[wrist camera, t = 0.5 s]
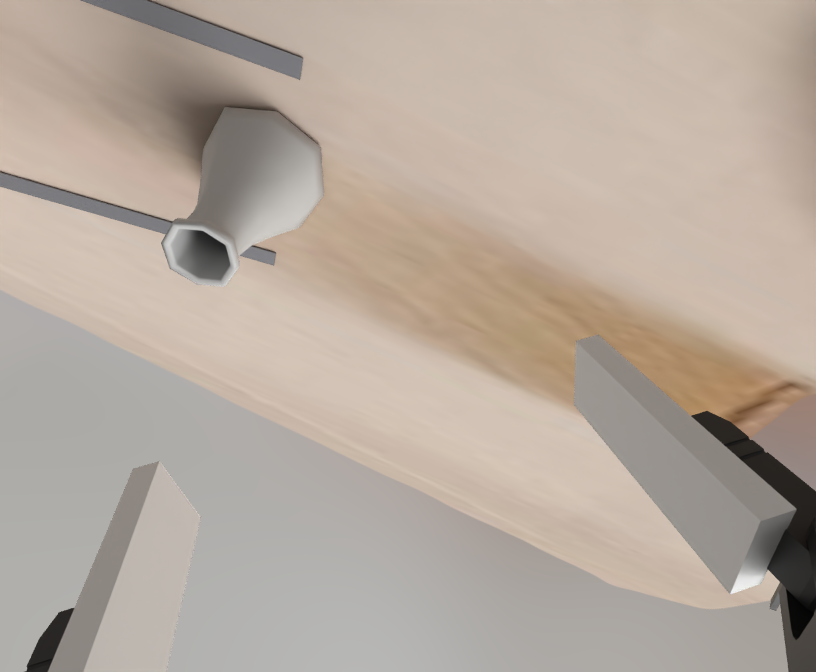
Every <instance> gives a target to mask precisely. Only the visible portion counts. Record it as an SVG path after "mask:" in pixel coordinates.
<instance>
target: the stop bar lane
mask: <svg viewBox="0 0 816 672" xmlns="http://www.w3.org/2000/svg"><path fill="white" fill-rule="evenodd" d="M82 1H84V2H87V3H90V4H93V5H95V6H98V7H101V8H104V9H106V10H109V11H112V12H115V13H117V14H120V15H123V16H126V17H128V18H131V19H134V20H137V21H139V22H142V23H145V24H148V25H150V26H153V27H156V28H159V29H161V30H164V31H167V32H170V33H172V34H175V35H178V36H181V37H183V38H186V39H189V40H192V41H194V42H197V43H200V44H203V45H205V46H208V47H211V48H214V49H217V50H219V51H222V52H225V53H228V54H230V55H233V56H236V57H239V58H241V59H244V60H247V61H250V62H252V63H255V64H258V65H261V66H263V67H266V68H269V69H272V70H274V71H277V72H280V73H283V74H285V75H288V76H291V77H294V78H296V79H299V80H300V77H301V69H302V62H303V58H301V57H299V56H296V55H293V54H291V53H288V52H285V51H283V50H280V49H277V48H274V47H272V46H269V45H266V44H264V43H261V42H258V41H256V40H253V39H250V38H248V37H245V36H242V35H239V34H237V33H234V32H231V31H229V30H226V29H223V28H221V27H218V26H215V25H213V24H210V23H207V22H205V21H202V20H199V19H196V18H194V17H191V16H188V15H186V14H183V13H180V12H178V11H175V10H172V9H170V8H167V7H164V6H161V5H159V4H156V3H153V2H151V1H148V0H82ZM0 187H4V188H7V189H11V190H14V191H18V192H21V193H25V194H28V195H31V196H35V197H38V198H42V199H45V200H49V201H52V202H56V203H59V204H63V205H66V206H70V207H73V208H77V209H80V210H83V211H87V212H90V213H94V214H97V215H101V216H104V217H108V218H111V219H115V220H118V221H122V222H125V223H128V224H132V225H135V226H139V227H142V228H146V229H149V230H153V231H156V232H160V233H163V234H166V233H167V231H168V229H169V228H170V226H171V224H172V222H169V221H166V220H162V219H159V218H156V217H152V216H149V215H145V214H142V213H139V212H135V211H132V210H128V209H125V208H122V207H118V206H115V205H111V204H108V203H104V202H101V201H98V200H94V199H91V198H87V197H84V196H81V195H77V194H74V193H70V192H67V191H64V190H60V189H57V188H53V187H50V186H47V185H43V184H40V183H36V182H33V181H30V180H26V179H23V178H19V177H16V176H13V175H9V174H6V173H2V172H0ZM275 255H276V253H275V252H271V251H268V250H265V249H261V248H258V247H254V246H251V247H249V248H248V249H247V250H246V251H244V252H243V253H242V254H241V255H240V256H243V257H246V258H250V259H253V260H257V261H260V262H264V263H267V264H271V265H274V263H275Z"/></svg>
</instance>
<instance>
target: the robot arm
mask: <svg viewBox="0 0 816 672" xmlns="http://www.w3.org/2000/svg"><path fill="white" fill-rule="evenodd" d="M574 406H575V407H576V408H577V409H578V410H579V412H580V413H581V414H582V415H583V416H584V418H585V419H586V420H587V421H588V423H589V424H590V425H591V426H592V427H593V429H594V430H595V431H596V432H597V433H598V435H599V436H600V437H601V438H602V440H603V441H604V442H605V443H606V444H607V446H608V447H609V448H610V449H611V450H612V452H613V453H614V454H615V455H616V457H617V458H618V459H619V460H620V461H621V463H622V464H623V465H624V466H625V467H626V469H627V470H628V471H629V472H630V473H631V475H632V476H633V477H634V478H635V480H636V481H637V482H638V483H639V484H640V486H641V487H642V488H643V489H644V490H645V492H646V493H647V494H648V495H649V497H650V498H651V499H652V500H653V501H654V503H655V504H656V505H657V506H658V507H659V509H660V510H661V511H662V512H663V514H664V515H665V516H666V517H667V518H668V520H669V521H670V522H671V523H672V524H673V526H674V527H675V528H676V529H677V531H678V532H679V533H680V534H681V535H682V537H683V538H684V539H685V540H686V541H687V543H688V544H689V545H690V546H691V548H692V549H693V550H694V551H695V552H696V554H697V555H698V556H699V557H700V558H701V560H702V561H703V562H704V563H705V565H706V566H707V567H708V568H709V569H710V571H711V572H712V573H713V574H714V575H715V577H716V578H717V579H718V580H719V582H720V583H721V584H722V585H723V586H724V588H725V589H726V590H727V591H728V592H729V594H733V593H735V592H738V591H741V590H744V589H747V588H750V587H753V586H756V585H759V584H761V583H762V580H763V578H764V576H765V574H766V572H767V570H769V571H770V572H771V573H772V574H773V575H774V576H775V577H776V578H777V579H778V580H779V581H780V584H779V586H778V587H777V589H776V591H775V593H774V595H773V597H772V599H771V604H770V609H772V610H775V611H776V610H777V608H778V606H779V604H780V606H781V614H782V621H783V630H784V638H785V645H786V654H787V662H788V670H789V672H816V491H815V490H813V489H812V488H811V487H810V486H809V485H807V484H806V483H805V482H804V481H802V480H801V479H800V478H799V477H797V476H796V475H795V474H794V473H793V472H791V471H790V470H789V469H788V468H786V467H785V466H784V465H783V464H781V463H780V462H779V461H778V460H777V459H775V458H774V457H773V456H772V455H770V454H769V453H765V452H764V449H763V448H762V447H760V446H759V445H758V444H757V443H755V442H754V441H753V440H750V439H749V437H748V436H747V435H746V434H745V433H743V432H742V431H741V430H740V429H738V428H737V427H736V426H735V425H733V424H732V423H731V422H730V421H727V420H725V419H723V418H721V417H719V416H717V415H715V414H712V413H710V412H708V411H705V412H702V413H699V414H695V415H692V416H690V415H689V414H688V413H687V412H686V411H685V410H683V409H682V408H681V407H680V406H679V405H678V404H677V403H676V402H674V401H673V400H672V399H671V398H670V397H669V396H668V395H666V394H665V393H664V392H663V391H662V390H661V389H660V388H658V387H657V386H656V385H655V384H654V383H653V382H652V381H651V380H649V379H648V378H647V377H646V376H645V375H644V374H643V373H641V372H640V371H639V370H638V369H637V368H636V367H635V366H633V365H632V364H631V363H630V362H629V361H628V360H627V359H625V358H624V357H623V356H622V355H621V354H620V353H619V352H618V351H616V350H615V349H614V348H613V347H612V346H611V345H610V344H608V343H607V342H606V341H605V340H604V339H603V338H602V337H600V336H599V335H595V336H592V337H588V338H585V339H581V340H578V341H576V353H575V393H574ZM200 519H201V517H200V515H199V514H198V513H197V512H196V510H195V509H194V507H193V506H192V505H191V503H190V502H189V501H188V499H187V498H186V497H185V495H184V494H183V492H182V491H181V490H180V488H179V487H178V486H177V484H176V483H175V482H174V480H173V479H172V478H171V477H170V475H169V473H168V472H167V471H166V469H165V468H164V467H163V465H162V464H161V463H160V461H158V462H155V463H152V464H148V465H144V466H141V467H138V468H134V469H133V470H132V473H131V475H130V478H129V480H128V483H127V485H126V487H125V489H124V492H123V494H122V497H121V499H120V501H119V504H118V506H117V508H116V511H115V513H114V515H113V518H112V520H111V523H110V525H109V528H108V530H107V532H106V535H105V537H104V539H103V542H102V544H101V546H100V549H99V551H98V554H97V556H96V558H95V561H94V563H93V566H92V568H91V570H90V573H89V575H88V578H87V580H86V582H85V584H84V587H83V589H82V592H81V594H80V597H79V599H78V601H77V603H76V606H75V608H71V609H68V610H65V611H62V612H59V613H58V615H57V616H56V617H55V619H54V620H53V621H52V623H51V624H50V625H49V627H48V628H47V629H46V631H45V632H44V633H43V635H42V636H41V637H40V639H39V641H38V643H37V645H36V647H35V650H34V652H33V654H32V656H31V658H30V660H29V663H28V664H27V671H26V672H167V667H168V663H169V658H170V654H171V649H172V645H173V640H174V635H175V631H176V627H177V622H178V617H179V613H180V609H181V604H182V599H183V595H184V591H185V586H186V582H187V577H188V573H189V568H190V563H191V559H192V555H193V550H194V546H195V541H196V537H197V532H198V528H199V523H200Z"/></svg>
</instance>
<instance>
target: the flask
mask: <svg viewBox="0 0 816 672" xmlns="http://www.w3.org/2000/svg"><path fill="white" fill-rule="evenodd" d="M323 196H324V186H323V171H322V155H321V147H320V146H319V145H318V144H316V143H315V142H314V141H313V140H311V139H310V138H309V137H308V136H307V135H305V134H304V133H303V132H302V131H301V130H299V129H298V128H297V127H296V126H294V125H293V124H292V123H291V122H290V121H288V120H287V119H286V118H285V117H283V116H282V115H281V114H280V113H279V112H277V111H267V110H255V109H243V108H231V107H224V109H223V111H222V113H221V115H220V117H219V119H218V121H217V123H216V125H215V126H214V128H213V130H212V132H211V134H210V136H209V138H208V140H207V142H206V144H205V146H204V147H203V154H202V170H201V181H200V188H199V195H198V203H197V206H196V208H195V210H194V211H193V213H192V214H191V215H190V216H189V217H188V218H187V219H181V218H177V219H175V220H174V221H173V222H172V224H171V226H170V228H169V229H168V231H167V233H166V235H165V237H164V239H163V241H162V242H161V244H162V247H163V250H164V253H165V256H166V258H167V261H168V264H169V267H170V269H172V270H173V271H175V272H177V273H178V274H180V275H182V276H184V277H185V278H187V279H189V280H190V281H192V282H194V283H195V284H198V285H210V286H222V287H225V286H226V285H227V283H228V282H229V280H230V279H231V278H232V276H233V275H234V273H235V272H236V270H237V269H238V268H239V266H240V261H239V257H238V256H240V255H241V254H242V253H243V252H244V251H246V250H247V249H248V248H249V247H251V246H252V245H254V244H256V243H259V242H261V241H264V240H266V239H268V238H271V237H273V236H276V235H279V234H282V233H285V232H288V231H291V230H294V229H297V228H299V227H300V226H301V225H302V224H303V222H304V221H305V220H306V218H307V217H308V216H309V214H310V213H311V212H312V211H313V209H314V208H315V207H316V205H317V204H318V203H319V201H320V200H321V199H322V197H323Z"/></svg>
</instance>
